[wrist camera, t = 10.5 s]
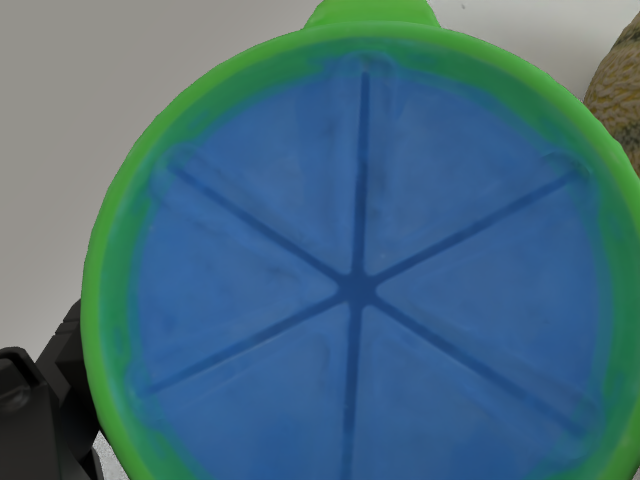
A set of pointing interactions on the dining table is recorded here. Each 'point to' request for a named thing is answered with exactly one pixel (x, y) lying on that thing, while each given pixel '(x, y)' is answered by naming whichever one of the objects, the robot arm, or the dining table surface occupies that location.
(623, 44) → the cantaloupe
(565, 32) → the dining table surface
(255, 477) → the snack cup
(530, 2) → the dining table surface
